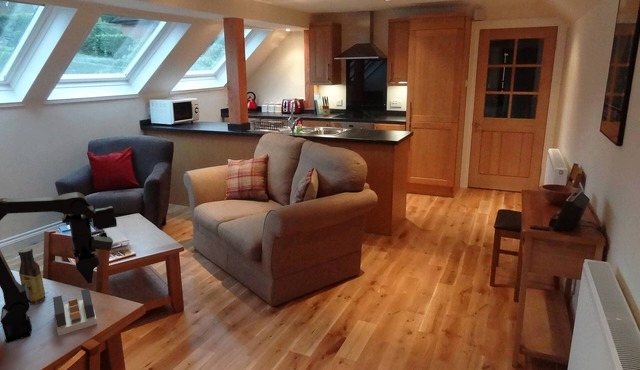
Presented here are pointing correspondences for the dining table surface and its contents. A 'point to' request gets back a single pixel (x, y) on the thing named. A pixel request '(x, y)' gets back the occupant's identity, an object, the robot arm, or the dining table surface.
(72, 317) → the paddle near
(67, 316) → the board
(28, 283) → the sauce bottle
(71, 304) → the paddle far
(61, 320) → the dark grey bar
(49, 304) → the dining table surface
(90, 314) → the dark gray bar
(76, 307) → the block
